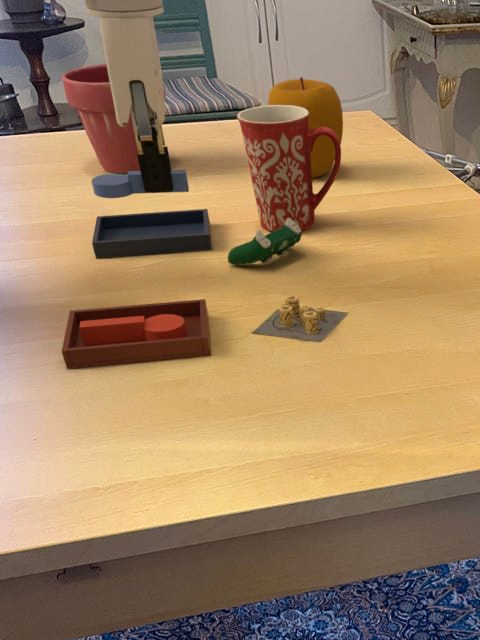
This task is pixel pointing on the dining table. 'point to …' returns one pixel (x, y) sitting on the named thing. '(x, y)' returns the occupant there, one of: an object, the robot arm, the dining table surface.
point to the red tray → (143, 349)
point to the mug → (284, 163)
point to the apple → (314, 115)
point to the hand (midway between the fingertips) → (159, 187)
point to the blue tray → (152, 233)
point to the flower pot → (102, 118)
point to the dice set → (300, 321)
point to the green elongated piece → (266, 245)
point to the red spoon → (132, 329)
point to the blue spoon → (133, 184)
